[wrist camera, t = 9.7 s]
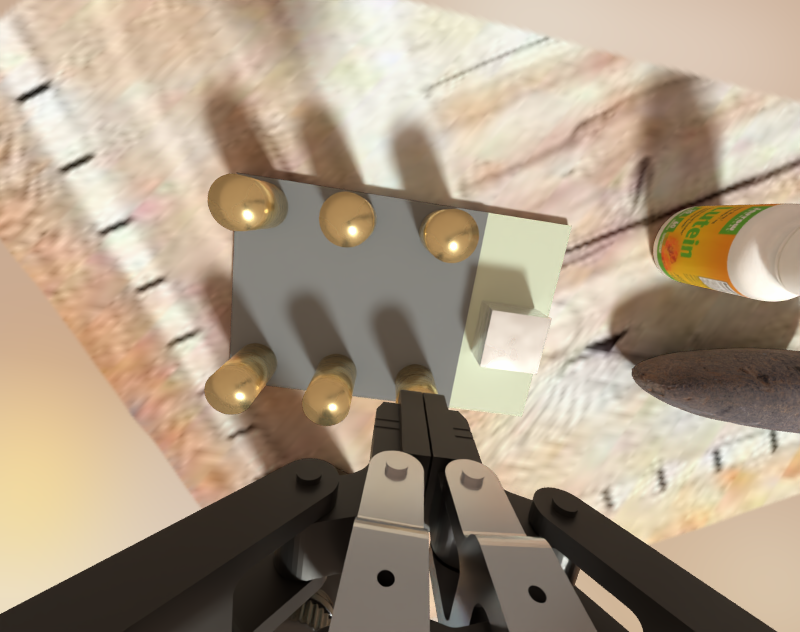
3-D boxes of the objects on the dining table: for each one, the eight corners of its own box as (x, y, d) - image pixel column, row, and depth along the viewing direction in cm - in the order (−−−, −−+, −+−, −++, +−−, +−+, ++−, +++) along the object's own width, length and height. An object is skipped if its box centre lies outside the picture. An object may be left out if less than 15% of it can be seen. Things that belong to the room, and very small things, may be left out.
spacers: (466, 213, 25) (484, 213, 21) (430, 402, 29) (438, 439, 24) (244, 178, 25) (208, 169, 20) (236, 377, 28) (204, 411, 23)
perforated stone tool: (606, 389, 30) (668, 440, 23) (622, 327, 29) (692, 362, 22) (782, 402, 31) (891, 454, 24) (805, 342, 29) (928, 379, 23)
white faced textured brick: (534, 307, 27) (551, 318, 25) (521, 358, 28) (536, 374, 26) (481, 300, 27) (492, 310, 24) (470, 351, 28) (479, 366, 25)
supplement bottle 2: (679, 193, 26) (841, 180, 17) (739, 226, 27) (928, 231, 17) (635, 263, 27) (764, 287, 18) (694, 292, 28) (848, 331, 19)
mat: (568, 225, 26) (572, 226, 26) (519, 413, 30) (522, 417, 30) (240, 173, 25) (236, 172, 24) (232, 377, 29) (229, 380, 28)
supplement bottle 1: (371, 520, 33) (360, 687, 21) (295, 534, 33) (244, 708, 21) (352, 454, 31) (330, 597, 19) (273, 469, 31) (203, 621, 19)
